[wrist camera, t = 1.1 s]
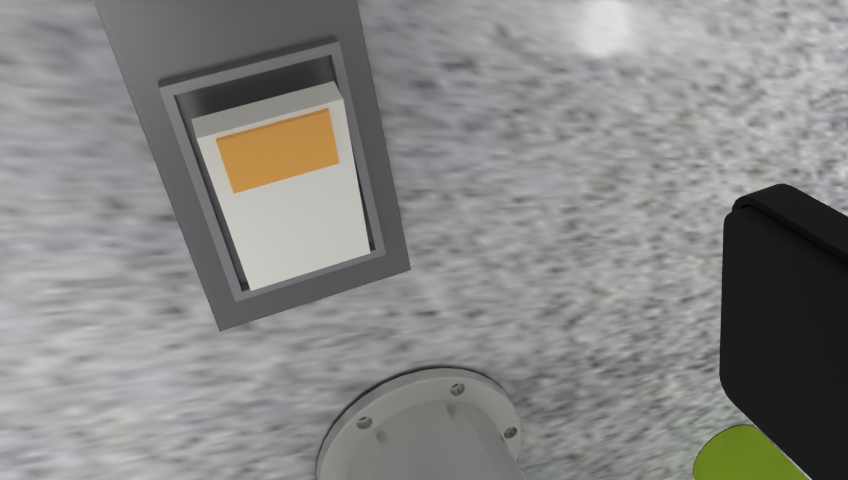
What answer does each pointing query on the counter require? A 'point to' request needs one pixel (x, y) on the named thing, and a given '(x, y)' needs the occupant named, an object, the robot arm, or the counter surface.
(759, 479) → the soap dispenser
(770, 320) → the robot arm
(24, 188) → the counter surface
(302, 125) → the rocker
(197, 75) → the rocker switch base
